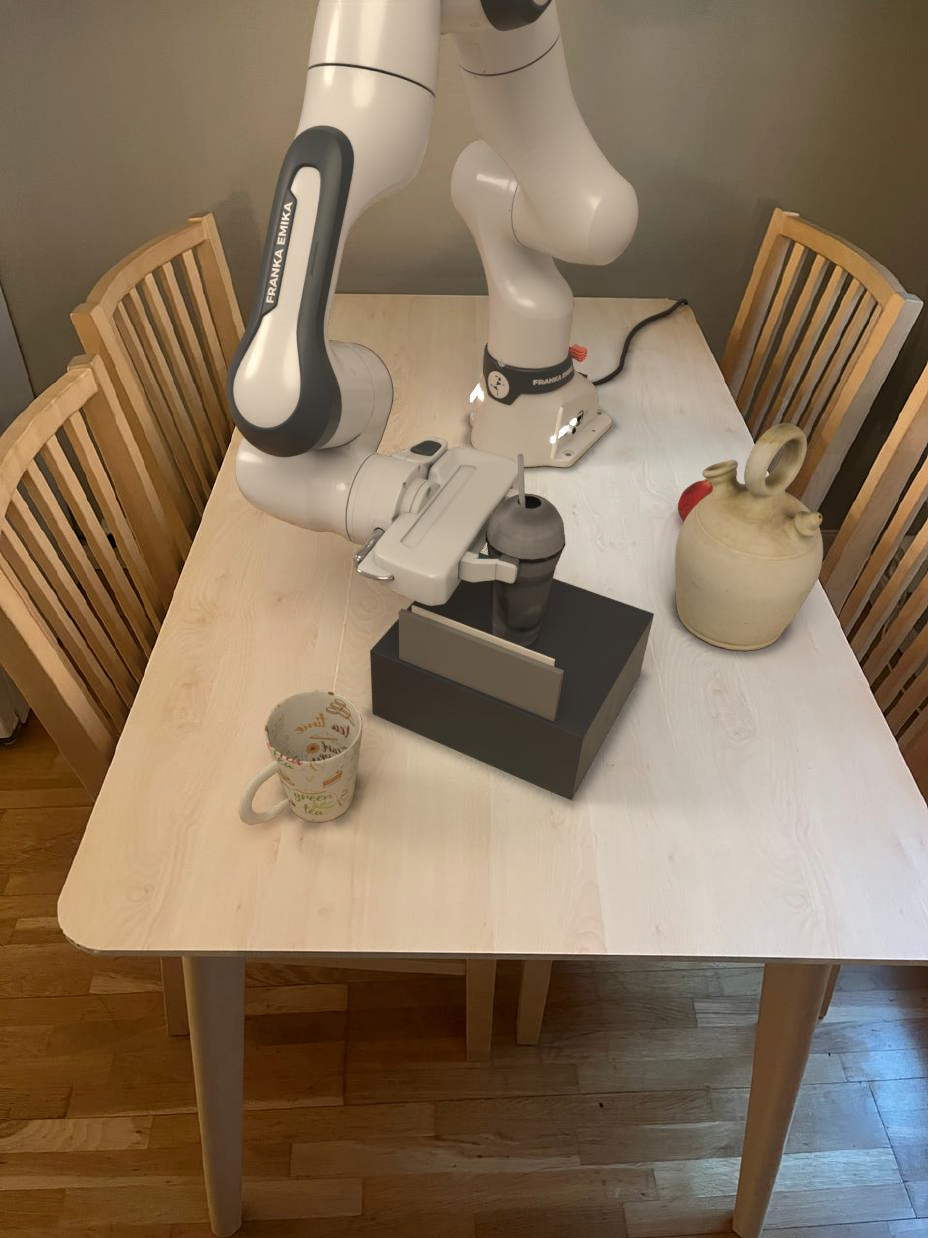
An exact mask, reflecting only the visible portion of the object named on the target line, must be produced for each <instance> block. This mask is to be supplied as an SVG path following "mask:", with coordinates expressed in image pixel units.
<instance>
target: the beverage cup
mask: <svg viewBox="0 0 928 1238" xmlns="http://www.w3.org/2000/svg"><path fill="white" fill-rule="evenodd" d="M518 482H519V494H518V495H515V496H512V497H510V498H508V499H507V500H505V501H504V502H503V503H501V504H500V505H499V506H498V507H497V509H496V510H495V512H494V513H493V515H492V517H491V519H490V521H489V525H488V528H487V530H486V538H485V540H486V542H487V543H486V549H487V555H488V556H489V558H490V559H500V557H501V556H502V554H504V555H507V556H510V557H511V558H518V559H519V560H520V562H521V567H520V573H519V575H518V577H517V578H516V580H515V582H513V583H507V582H503V581H500V580H496V579H495V580H490V583H491V621H492V628H493V629H492V633H493V635H494V636H495V637H498V638H500V639H503V640H506V641H508V642H511V643H513V644H516V645H519V646H521V647H524V646H527V645H530V644H532V643H533V642H534V641H535V640H536V638H537V636H538V631H539V628H540V626H541V623H542V620H543V616H544V612H545V608H546V604H547V600H548V596H549V592H550V588H551V584H552V580H553V578H554V577H555V572H556V567H557V565H558V563H559V561H560V559H561V557H562V553H563V551H564V549H565V547H566V545H567V544H566V535H565V524H564V521H563V517H562V516H561V514H560V512H559V510H558V509H557V507H556V506H555V505H554V504H553V503H552V502H551V501H549V500H548V499H547V498H546V497H544V496H541V495H538V494H534V493H526V490H525V487H526V485H525V467H524V456H523V454H521V453H520V454H518Z"/></svg>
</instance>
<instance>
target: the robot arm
mask: <svg viewBox="0 0 928 1238" xmlns="http://www.w3.org/2000/svg"><path fill="white" fill-rule="evenodd" d="M447 34H450V35H451V40H452V44H453V49H454V53H455V57H456V62H457V64H458V69H459V73H460V76H461V80H462V84H463V89H464V92H465V95H466V99H467V103H468V107H469V111H470V114H471V118H472V122H473V125H474V127H475V129H476V131H477V133H478V134H479V136H480V137H481V139H477V140H474V141H472V142H471V143H470V144H468V145H467V146H466V147H465V148H464V150H463V151H462V152H461V153H460V155H459V156H458V158H457V159H456V161H455V164H454V166H453V169H452V174H451V177H450V196H451V197H450V198H451V201H452V205H453V207H454V209H455V211H456V212H457V214H458V215H459V216H460V218H461V219H462V220H463V222H464V223H465V225H466V226H467V228H468V230H469V232H470V234H471V235H472V237H473V240H474V243H475V245H476V247H477V251H478V253H479V256H480V259H481V263H482V266H483V270H484V274H485V279H486V286H487V292H488V293H487V294H488V325H487V326H488V327H487V329H488V330H487V343H485V345H484V349H483V355H482V360H481V361H482V372H481V373H480V376H479V382H478V384H477V385H476V387H475V388H474V390H472V392H471V394H470V395H469V402H470V403H473V402H474V400H475V399H476V400H475V408H474V410H472V411H471V412H470V413H469V419H468V421H469V424H470V426H471V427H472V429H471V433H470V443H471V445H472V447H471V446H470V447H469V446H454V447H451V448H449V443H448V441H447V440H446V439H444V438H440V437H436V436H430V437H427V438H425V439H423V440H422V441H420V442H418V443H416V444H413V445H412V446H409V447H407V448H405V449H402V450H398V451H395V452H392V453H391V454H390V455H387V454H384V453H379V452H377V451H378V449H379V447H380V445H381V442H382V440H383V436H384V434H385V431H386V428H387V425H388V421H389V419H390V415H391V412H392V408H393V405H394V397H395V395H394V393H395V391H394V383H393V379H392V376H391V373H390V370H389V368H388V367H387V365H386V363H385V362H384V361H383V360H382V358H381V357H380V355H378V354H377V353H376V352H375V351H374V350H372V349H371V348H369V347H367V346H365V345H363V344H360V343H356V342H349V341H343V340H342V341H341V340H333V339H329V325H330V319H331V314H332V311H333V310H332V309H333V305H334V304H333V303H334V298H335V295H336V289H337V285H338V279H339V274H340V270H341V264H342V259H343V253H344V249H345V245H346V242H347V239H348V235H349V233H350V231H351V229H352V227H354V224H355V222H356V221H357V220H358V219H359V217H360V216H362V214H363V213H365V212H366V211H367V210H368V209H370V208H371V207H372V206H374V205H375V204H377V203H380V202H382V201H385V200H388V199H390V198H392V197H393V196H396V195H397V194H399V193H401V191H403V190H404V189H405V188H407V187H408V186H409V185H410V184H411V183H412V182H413V180H414V179H416V177H417V176H418V174H419V171H420V169H421V166H422V163H423V161H424V158H425V154H426V152H427V148H428V146H429V145H428V144H429V140H430V136H431V131H432V125H433V119H434V111H435V105H436V97H437V90H438V81H439V69H440V57H441V36H445V35H447ZM308 54H309V55H308V63H307V73H306V82H305V88H304V95H303V102H302V108H301V113H300V116H299V117H300V118H299V122H298V126H297V129H296V133H295V136H294V138H293V141H292V142H291V144H290V145H289V147H288V149H287V151H286V153H285V155H284V158H283V161H282V164H281V168H280V172H279V174H278V178H277V182H276V187H275V191H274V195H273V200H272V204H271V209H270V210H271V211H270V215H269V219H268V224H267V229H266V235H265V241H264V246H263V251H262V256H261V261H260V267H259V272H258V276H257V282H256V287H255V293H254V297H253V303H252V306H251V311H250V315H249V319H248V322H247V325H246V327H245V330H244V332H243V335H242V337H241V339H240V341H239V343H238V344H237V347H236V348H235V351H234V353H233V355H232V358H231V360H230V363H229V366H228V369H227V374H226V378H225V379H226V380H225V398H226V404H227V407H228V411H229V414H230V417H231V419H232V422H233V423H234V425H235V427H236V428H237V429H238V432H239V433H240V434H241V435H242V437H243V438H242V439H241V440H240V443H239V445H238V446H237V447H238V448H237V450H236V455H235V465H234V466H235V468H234V469H235V472H234V473H235V478H236V483H237V487H238V489H239V491H240V493H241V495H242V496H243V498H244V499H245V500H246V501H247V502H248V503H249V505H251V506H252V507H253V508H255V509H257V510H258V511H260V512H261V513H264V514H266V515H267V516H269V517H272V518H274V519H276V520H279V521H281V522H284V523H287V524H289V525H292V526H296V527H299V528H301V529H304V530H307V531H311V532H315V533H333V534H335V535H338V536H340V537H342V538H344V539H345V540H347V541H348V542H350V543H353V544H355V545H360V546H362V547H360V548H359V549H358V550H357V551H356V552H355V554H354V555H353V558H352V561H353V567H354V569H355V571H356V572H357V574H358V576H360V577H362V578H364V579H367V580H370V581H374V582H377V583H378V584H379V585H381V586H382V587H383V588H385V589H387V590H389V591H390V592H391V591H392V592H393V593H396V594H397V595H400V596H402V597H404V598H407V599H410V600H411V601H413V602H414V601H417V602H420V603H422V604H425V605H429V606H435V605H442V604H445V603H446V602H447V601H448V599H449V598H450V596H451V595H452V593H453V592H454V590H455V589H456V587H457V586H458V584H459V583H460V582H461V580H466V581H469V582H481V581H490V580H495V579H496V580H500V581H503V582H507V583H513V582H515V580H516V578H517V577H518V575H519V573H520V567H521V562H520V560H519V559H518V558H511V557H510V556H507V555H504V554H502V556H501V557H500V559H479V553H482V551H483V549H484V548H485V546H487V542H486V540H485V538H486V530H487V528H488V525H489V521H490V519H491V517H492V515H493V513H494V512H495V510H496V509H497V507H498V506H499V505H500V504H501V503H503V502H504V501H505V500H507V499H508V498H510V497H512V496H515V495H518V494H519V482H518V454H520V453H521V454H523V456H524V468H532V467H544V466H545V467H546V466H547V467H556V468H570V467H571V466H573V465H574V464H575V463H576V462H577V461H578V460H579V459H580V458H581V457H582V456H583V455H584V454H585V453H586V452H587V451H588V450H589V449H590V448H592V446H593V445H594V444H595V443H596V442H598V440H600V438H601V437H602V436H603V435H604V434H605V433H606V432H607V431H608V430H610V428H611V427H612V424H613V423H612V422H613V420H612V417H611V416H610V415H609V414H608V413H607V412H606V411H604V410H603V409H602V408H600V407H599V392H598V389H597V386H600V385H603V384H605V383H607V382H609V381H611V380H612V379H614V378H615V377H616V376H618V375H619V374H620V373H621V372H622V370H623V369H624V367H625V362H626V358H627V355H628V351H629V346H630V343H631V340H632V339H633V337H634V335H636V333H637V332H638V331H639V330H640V329H641V328H642V327H644V326H645V325H647V324H648V323H650V322H653V321H656V320H658V319H661V318H663V317H665V316H668V315H670V314H671V313H673V312H674V311H675V310H676V309H678V307H680V306H681V305H682V304H683V305H685V306H688V305H689V301H688V299H686V298H680V299H679V300H677V301H676V302H675V303H674V304H672V305H671V306H670V308H668V309H666V310H664V311H661V312H659V313H656V314H654V315H651V316H649V317H647V318H645V319H642V320H641V321H640V322H638V323H637V324H636V325H635V326H634V327H633V328H631V330H630V332H629V333H628V335H627V336H626V338H625V340H624V344H623V348H622V352H621V354H620V358H619V364H618V365H617V368H616V369H615V370H613V371H612V372H610V373H609V374H608V375H606V376H604V377H602V378H601V379H598V380H596V381H590V380H589V379H588V376H589V375H588V374H585V373H582V372H581V371H577V370H575V367H574V361H573V359H574V360H575V361H577V362H579V363H583V362H585V360H586V358H587V356H588V349H587V347H584V346H580V345H579V344H577V343H573V344H572V345H571V346H570V343H571V338H572V337H571V335H572V328H573V321H574V320H573V319H574V311H575V297H574V293H573V291H572V289H571V286H570V285H569V283H568V282H567V280H566V279H565V278H564V276H563V275H562V274H561V272H560V271H559V269H558V267H557V265H556V263H555V262H554V259H553V258H555V259H558V260H560V261H563V262H566V263H570V264H579V265H586V266H587V265H589V266H606V265H609V264H611V263H612V262H614V261H615V260H616V259H618V258H619V257H620V256H621V255H622V254H623V253H624V252H625V251H626V249H627V248H628V247H629V245H630V244H631V242H632V241H633V238H634V236H635V233H636V231H637V227H638V223H639V222H638V221H639V214H640V213H639V210H640V209H639V202H638V197H637V193H636V190H635V188H634V186H633V185H632V184H631V183H630V182H629V181H628V180H627V179H626V178H624V177H623V176H622V175H621V174H620V173H619V172H618V171H617V170H616V168H615V167H613V165H612V164H611V162H609V160H608V159H607V158H606V156H605V155H604V153H603V152H602V150H601V149H600V147H599V146H598V144H597V142H596V141H595V139H594V136H593V135H592V134H591V131H590V130H589V127H588V126H587V124H586V123H585V121H584V118H583V116H582V114H581V112H580V109H579V107H578V105H577V102H576V99H575V96H574V93H573V90H572V85H571V80H570V75H569V71H568V65H567V60H566V56H565V49H564V44H563V37H562V32H561V25H560V20H559V14H558V9H557V4H556V0H319V1H318V5H317V9H316V15H315V19H314V25H313V29H312V36H311V40H310V48H309V53H308Z"/></svg>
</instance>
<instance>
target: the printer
mask: <svg viewBox="0 0 928 1238" xmlns="http://www.w3.org/2000/svg"><path fill="white" fill-rule="evenodd" d="M479 559H490V558H489V556H488V554H485V553H483V552H480V553H479ZM654 617H655V614H654V612H651V611H648V610H645V609H642V608H639V607H636V606H633V605H632V604H631V605H630V604H628V603H625V602H622V601H619V600H617V599H614V598H612V597H608V596H605V595H602V594H599V593H596V592H594V591H591V590H588V589H585V588H582V587H579V586H576V585H573V584H571V583H568V582H565V581H563V580H560V579H557V578H555V577H553V580H552V584H551V588H550V592H549V596H548V600H547V604H546V608H545V612H544V616H543V620H542V623H541V626H540V628H539V631H538V636H537V638H536V640H535V641H534V642H533V643H532V644H530V645H527V646H524V647H521V646H519V645H516V644H513V643H511V642H508V641H506V640H503V639H500V638H498V637H495V636H494V635H493V633H492V629H493V628H492V621H491V583H490V581H481V582H469V581H466V580H461V582H460V583H459V584H458V586H457V587H456V589H455V590H454V592H453V593H452V595H451V596H450V598H449V599H448V601H447V602H446V603H445V604H442V605H435V606H429V605H425V604H422V603H420V602H417V601H414V600H413V602H412V603H410V605H409V606H408V607H407V608H406V609H405V608H400V609H399V610H398V618H397V619H396V620H395V622H394V623H393V624H392V625H391V626H390V628H389V629H388V630H387V631H386V632H385V633H384V634H383V636H381V638H380V639H379V640H378V641H377V642H376V643H375V644H374V645H373V646H372V648H371V649H370V651H369V660H370V680H371V681H370V683H371V684H370V685H371V709H372V711H371V712H372V715H374V716H375V717H378V718H380V719H383V720H385V721H388V722H389V723H392V724H394V725H397V726H399V727H402V728H404V729H406V730H408V731H410V732H413V733H415V734H417V735H419V736H422V737H424V738H427V739H429V740H431V741H433V742H436V743H438V744H440V745H442V746H444V747H447V748H449V749H452V750H455V751H456V752H459V753H461V754H464V755H466V756H469V757H470V758H473V759H475V760H478V761H479V762H482V763H484V764H486V765H489V766H491V767H494V768H496V769H498V770H501V771H503V772H504V773H508V774H509V775H512V776H515V777H516V778H519V779H520V780H523V781H526V782H528V783H530V784H533V785H534V786H537V787H540V788H542V789H545V790H547V791H549V792H551V793H553V794H556V795H558V796H560V797H562V798H565V799H567V800H570V801H572V800H573V799H574V797H575V795H576V793H577V792H578V789H579V788H580V786H581V784H582V783H583V781H584V778H585V777H586V775H587V773H588V772H589V769H590V768H591V766H592V764H593V762H594V760H595V759H596V757H597V755H598V754H599V753H598V752H599V751H600V749H601V747H602V745H603V744H604V742H605V740H606V738H607V737H608V734H609V733H610V731H611V729H612V727H613V725H614V724H615V721H616V720H617V719H618V716H619V714H620V712H621V711H622V709H623V707H624V705H625V703H626V701H627V700H628V698H629V697H630V695H631V693H632V690H633V689H634V687H635V685H636V683H637V681H638V680H639V678H640V676H641V671H642V666H643V663H644V659H645V654H646V651H647V645H648V642H649V638H650V633H651V630H652V629H651V628H652V626H653V625H652V624H653V621H654Z"/></svg>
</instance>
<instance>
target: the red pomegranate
mask: <svg viewBox="0 0 928 1238" xmlns="http://www.w3.org/2000/svg"><path fill="white" fill-rule="evenodd" d="M712 490H713V486H712V485H711V484H710V483H709V481H708V480H707V479H706V478H705V479H703V480H698V481H695V482H694V483H691V484H690V485H689V486H687V487H686V488H685V489H684V490H683V492H682V493H681V495H680V497H679V499H678V503H677V512H678V515H679V517H680V519H681V521H682V523H684V521H685V519H686V517H687V516H688V515H689V513H690V512H691V511H692V509H693V508H694V507H695V506H696V505H697V504H698V503H699V502H700V501H701V500H702V499H703V498H705V497H706V496H707V495H709V494H710V493H711V492H712Z"/></svg>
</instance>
